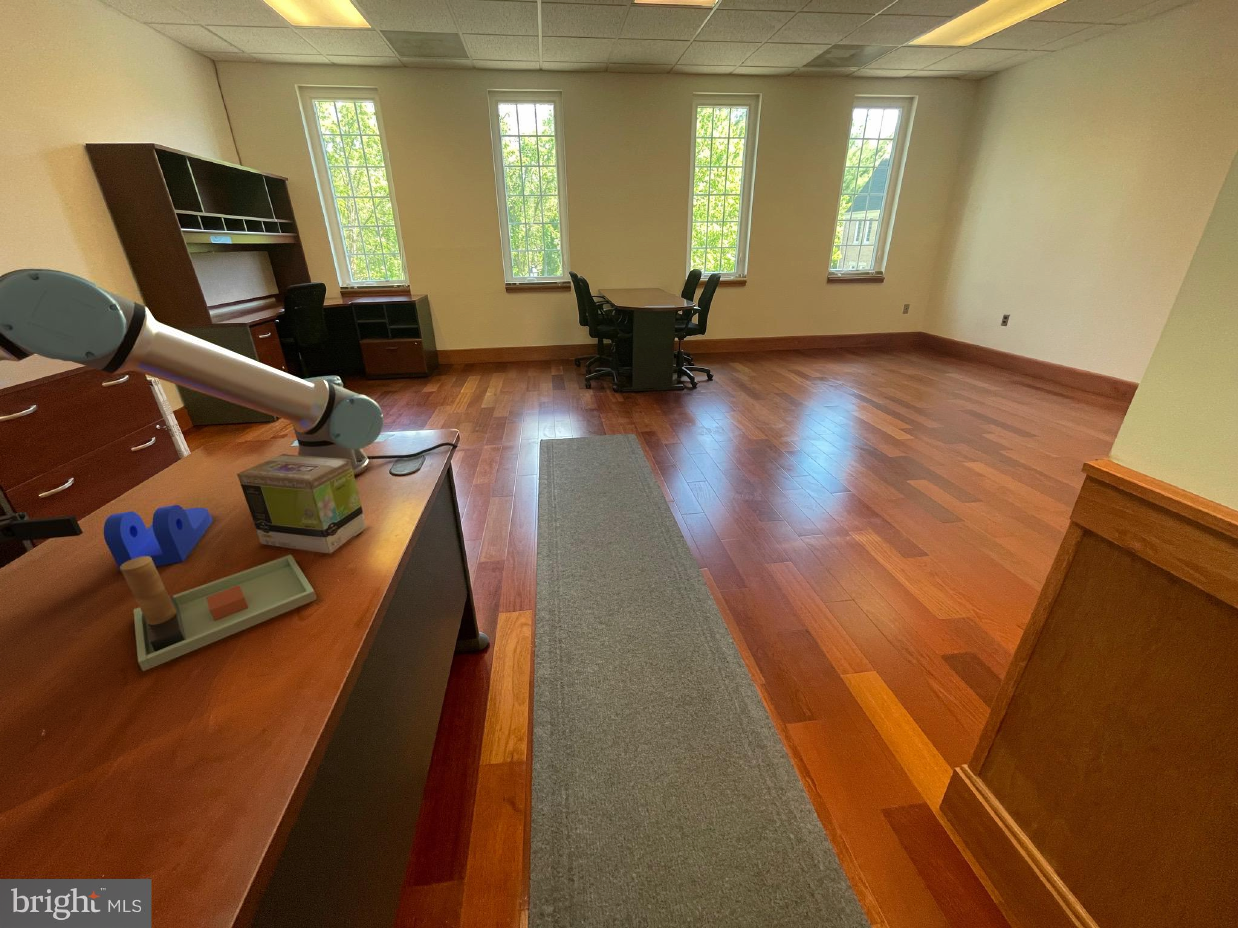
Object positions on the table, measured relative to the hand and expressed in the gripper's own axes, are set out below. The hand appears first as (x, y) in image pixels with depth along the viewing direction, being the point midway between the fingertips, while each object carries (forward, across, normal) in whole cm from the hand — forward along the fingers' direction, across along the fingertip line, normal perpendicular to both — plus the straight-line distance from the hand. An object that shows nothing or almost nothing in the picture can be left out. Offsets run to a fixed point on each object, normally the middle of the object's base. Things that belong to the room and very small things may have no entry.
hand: (32, 553), depth 58 cm
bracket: (-4, -28, -15) cm, 32 cm away
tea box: (+21, -24, -15) cm, 35 cm away
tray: (+16, -4, -15) cm, 22 cm away
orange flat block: (+16, -4, -14) cm, 21 cm away
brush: (+10, 0, -14) cm, 17 cm away
